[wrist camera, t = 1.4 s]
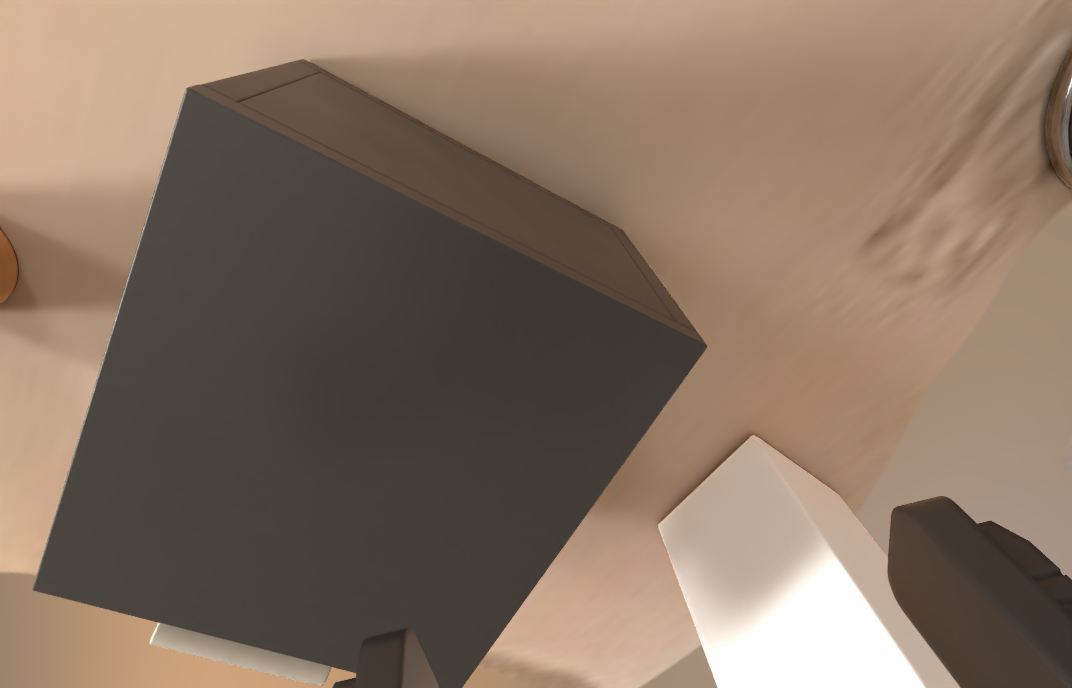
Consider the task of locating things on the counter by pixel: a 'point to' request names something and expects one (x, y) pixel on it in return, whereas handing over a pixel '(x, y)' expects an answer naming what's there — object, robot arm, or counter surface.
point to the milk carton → (790, 583)
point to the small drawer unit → (354, 383)
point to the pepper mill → (7, 268)
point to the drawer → (239, 654)
